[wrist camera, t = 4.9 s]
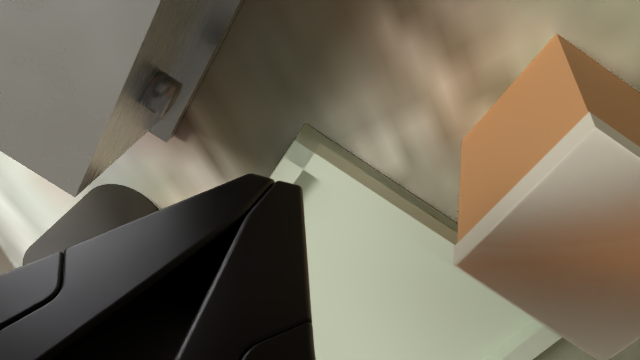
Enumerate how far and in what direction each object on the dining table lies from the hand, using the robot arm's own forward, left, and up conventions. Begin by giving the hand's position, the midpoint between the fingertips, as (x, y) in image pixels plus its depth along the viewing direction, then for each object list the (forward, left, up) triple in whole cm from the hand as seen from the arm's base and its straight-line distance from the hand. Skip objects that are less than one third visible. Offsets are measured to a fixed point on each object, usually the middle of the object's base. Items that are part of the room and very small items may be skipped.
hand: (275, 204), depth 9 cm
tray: (-6, +10, -11) cm, 16 cm away
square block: (-7, 0, -11) cm, 13 cm away
